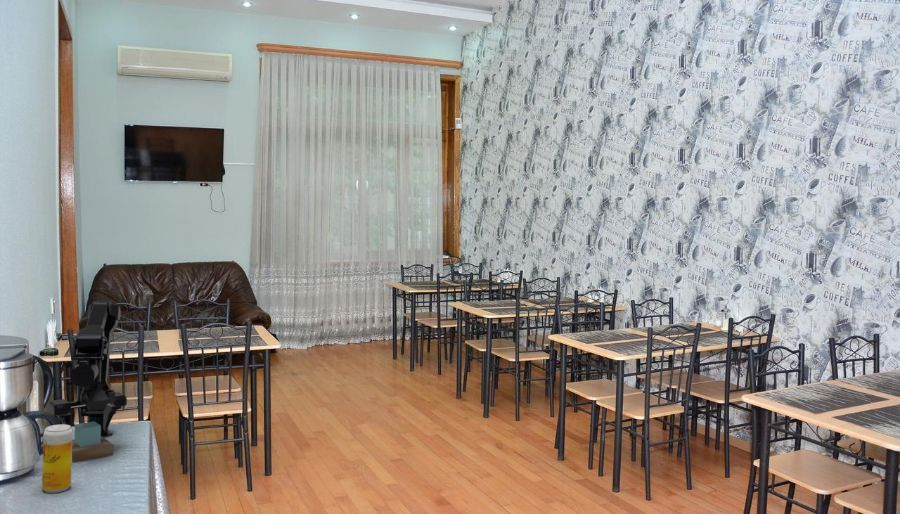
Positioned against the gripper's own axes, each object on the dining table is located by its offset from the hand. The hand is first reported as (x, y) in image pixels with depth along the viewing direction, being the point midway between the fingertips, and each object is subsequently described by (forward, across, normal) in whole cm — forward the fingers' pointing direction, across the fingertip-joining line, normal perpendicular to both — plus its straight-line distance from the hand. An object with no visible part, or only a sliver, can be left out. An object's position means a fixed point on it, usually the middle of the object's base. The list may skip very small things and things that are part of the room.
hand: (87, 434), depth 195 cm
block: (+2, 0, 0) cm, 2 cm away
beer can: (+6, -14, -21) cm, 26 cm away
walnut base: (+6, 0, 0) cm, 6 cm away
